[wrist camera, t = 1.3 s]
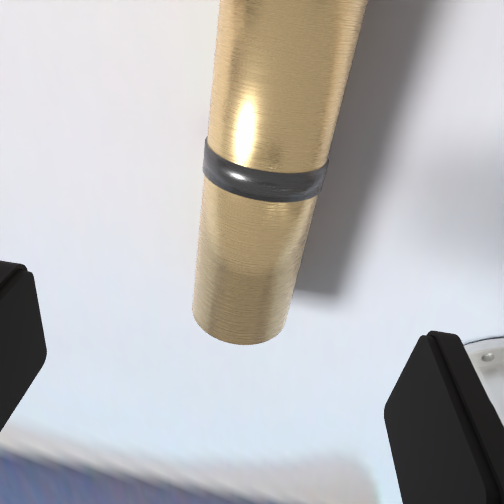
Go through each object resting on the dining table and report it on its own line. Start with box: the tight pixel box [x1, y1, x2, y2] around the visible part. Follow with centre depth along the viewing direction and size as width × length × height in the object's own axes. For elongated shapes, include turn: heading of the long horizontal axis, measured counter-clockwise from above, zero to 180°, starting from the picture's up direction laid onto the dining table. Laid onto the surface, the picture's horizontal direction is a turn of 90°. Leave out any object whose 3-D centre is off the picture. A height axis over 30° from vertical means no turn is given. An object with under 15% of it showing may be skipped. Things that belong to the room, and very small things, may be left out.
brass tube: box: [192, 0, 368, 345], centre depth 21 cm, size 20×6×6 cm, turn 172°
